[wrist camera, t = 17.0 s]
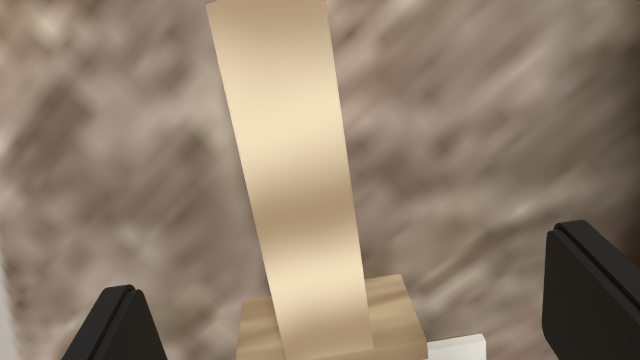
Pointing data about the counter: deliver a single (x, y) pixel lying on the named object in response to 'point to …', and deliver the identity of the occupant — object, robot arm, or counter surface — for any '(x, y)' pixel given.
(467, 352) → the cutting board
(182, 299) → the counter surface
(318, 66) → the tall beige plank
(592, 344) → the robot arm
